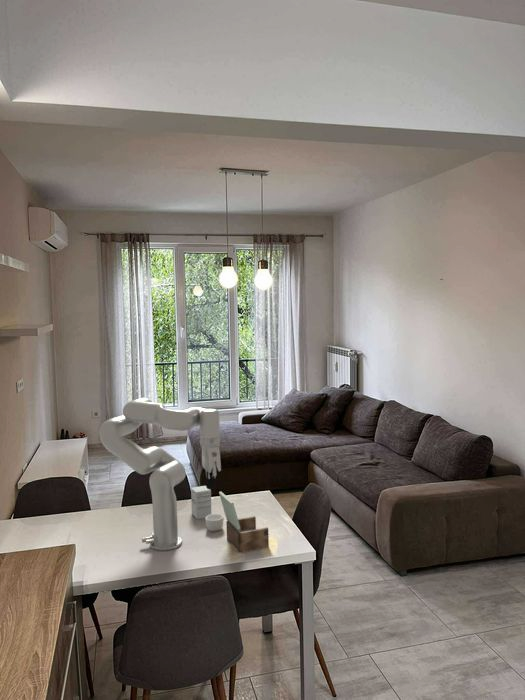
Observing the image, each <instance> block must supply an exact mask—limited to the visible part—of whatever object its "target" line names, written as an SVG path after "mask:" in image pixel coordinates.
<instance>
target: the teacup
mask: <svg viewBox="0 0 525 700" xmlns="http://www.w3.org/2000/svg"><path fill="white" fill-rule="evenodd" d="M204 520H205V521H204V522H205V526H206V529H207V530H209V531H210V532H219V531H220V530H221V529H222V528H223V527H224V515H223V514H220V513H211V514H210V515H208V516H206V518H204Z"/></svg>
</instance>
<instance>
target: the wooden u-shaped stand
mask: <svg viewBox="0 0 525 700" xmlns="http://www.w3.org/2000/svg"><path fill="white" fill-rule="evenodd" d="M256 519H257V517H256V516H255V515H254V516H253V515H252V516H248V517H247V516H246V517H243V518H238V521H239V525H240V530H247V529H252V530H250V531H245V532H240V533H239V532H238V531H237V530H236V529H235V528H234V527H233V526H232V525H231V524H230V523H229V522H228V521H227V520H226V521H225V522H226V524H225V525H226V540H227V541H228V542H229V543H230V544H231V545H232V547H234V549H235V550H236V551H237V552H238V553H240V554H241V553H245V552H251V551H255V550H260V549H266V548H269V546H270V543H269V541H270V540H269V534H270V533H269V528H268V527H262V528H261V527H260V528H257V520H256Z"/></svg>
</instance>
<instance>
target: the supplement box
mask: <svg viewBox="0 0 525 700" xmlns="http://www.w3.org/2000/svg"><path fill="white" fill-rule="evenodd" d="M190 490H191V491H190V492H191V493H190V495H191V497H190V498H191V501H190V503H191V515H192V516H193V517H194V518H195V519H196V520H201V519H205V518H206V516H208V515H210V514H212V489H207V488H206V485H201V486H194V487H191V488H190Z"/></svg>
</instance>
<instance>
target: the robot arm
mask: <svg viewBox="0 0 525 700" xmlns="http://www.w3.org/2000/svg"><path fill="white" fill-rule="evenodd" d="M143 424H148V425H149V424H151V425H158V426H159V427H161V428H162V429H163V428H164V429H165V430H172V431H180V432H181V431H188V430H191V429H194V428H195V427H199V444H200V445H199V446H200V447H201V466H202V468H203V469H204V470H205V480H206V481H205V483H206V485H205V486H206V488H207V489H210V490H212V489H216V477H217V472H219V473H220V472H221V471H222V465H221V464H222V463H221V452H220V451H221V450H220V447H219V446H220V445H221V442H220V441H221V436H220V434H221V433H220V431H221V430H220V429H221V427H220V411H219V410H218V409H215V408H204V407H200V406H199V407H198V406H192V407H189V408H186V409H183V410H173V409H166V406H165V405H164V404H163V403H161V402H153V401H152V400H151V399H149V398H147V397H141V398H137V399H133V400H130V401H128V402H127V403H125V404H124V406H123V408H122V414H121V415H118V416H115V417H111V418H109V419H107V420H105V421H104V422H102V424H101V425H100V427H99V432H98V433H99V439H100V442H101V443H102V446H103V447H104V448H105V449H106V450H107V451H108V452H109V453H111V454H112V455H114V456H115V457H117V458H119V459H120V461H122V462H123V463H125V464H126V465H127V466H128V467H129V468H131V469H132V470H133V471H135V472H136V474H139V475H147V474H149V473H151V474H150V476H149V480H148V481H149V483H148V484H149V488H150V492H151V499H152V500H151V501H152V524H153V525H152V527H153V528H152V529H153V532H151V535H149V536H144V537H141V543H146V545H148V544H149V546H150V549H152V550H155V551H162V552H163V551H170V550H171V551H172V550H174V549H177V548H179V547H180V546H181V545H182V543H183V539H182V538H181V537H180V536H179V533H178V530H179V529H178V527H179V526H178V503H177V501H178V500H177V495H176V493H175V489H174V487H175V486H177V485H178V484H180V483H182V482H183V481H184V479H185V477H186V474H187V472H186V469H185V466H184V465H183V463H181V462H180V461H179V460H178V459H176V458H175V457H174V456H173V455H172V454H170V453H169V452H167V451H166V450H165V449H163V448H162V447H159V446H155V445H154V446H149V447H146V448H143V447H141V446H140V445H138V444H137V443H136V442H134V441H133V440H130V439H128V438H126V436H127V435H130V434H132V433H133V432H135V430H136V431H137V429H138V428H140V427H141V426H142V425H143ZM124 436H125V437H124Z"/></svg>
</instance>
